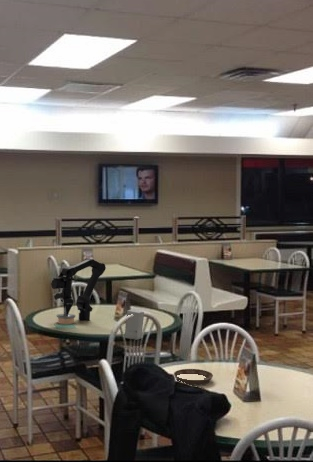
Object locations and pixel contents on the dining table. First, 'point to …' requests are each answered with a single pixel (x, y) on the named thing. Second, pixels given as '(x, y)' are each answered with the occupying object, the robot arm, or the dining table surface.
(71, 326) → the mat
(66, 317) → the lid
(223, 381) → the dining table surface
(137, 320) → the skincare box
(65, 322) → the bowl
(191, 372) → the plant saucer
